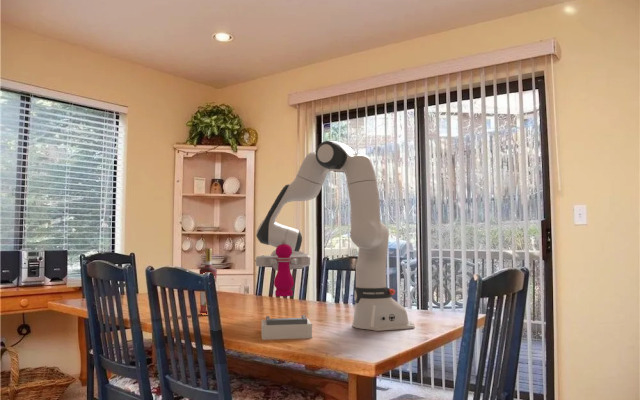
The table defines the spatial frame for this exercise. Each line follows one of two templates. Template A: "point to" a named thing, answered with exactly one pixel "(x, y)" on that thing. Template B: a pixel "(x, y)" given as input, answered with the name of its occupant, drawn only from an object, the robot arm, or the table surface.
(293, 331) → the dock
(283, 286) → the pepper mill
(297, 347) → the table surface
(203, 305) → the liquor
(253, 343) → the table surface
